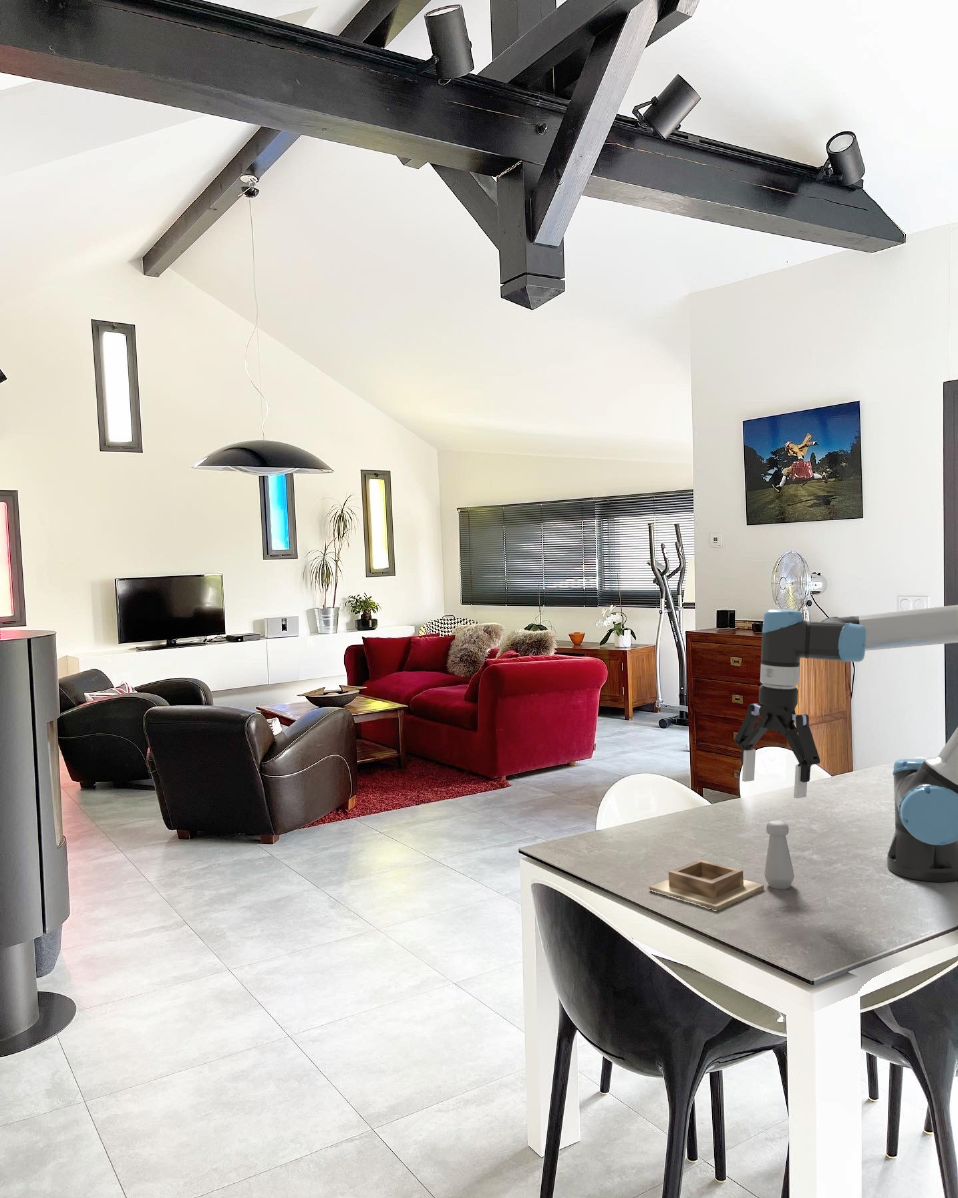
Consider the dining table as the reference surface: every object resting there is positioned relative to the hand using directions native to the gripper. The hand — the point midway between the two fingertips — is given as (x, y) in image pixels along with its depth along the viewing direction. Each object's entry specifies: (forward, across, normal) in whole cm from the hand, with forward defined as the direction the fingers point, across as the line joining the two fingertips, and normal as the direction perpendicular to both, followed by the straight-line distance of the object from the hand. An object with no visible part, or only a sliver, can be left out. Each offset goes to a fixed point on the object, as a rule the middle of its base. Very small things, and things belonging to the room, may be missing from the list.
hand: (773, 789), depth 189 cm
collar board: (+20, -3, -14) cm, 25 cm away
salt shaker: (+19, +4, -1) cm, 19 cm away
